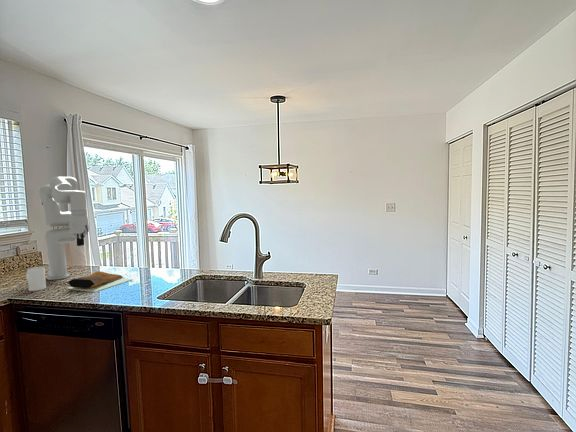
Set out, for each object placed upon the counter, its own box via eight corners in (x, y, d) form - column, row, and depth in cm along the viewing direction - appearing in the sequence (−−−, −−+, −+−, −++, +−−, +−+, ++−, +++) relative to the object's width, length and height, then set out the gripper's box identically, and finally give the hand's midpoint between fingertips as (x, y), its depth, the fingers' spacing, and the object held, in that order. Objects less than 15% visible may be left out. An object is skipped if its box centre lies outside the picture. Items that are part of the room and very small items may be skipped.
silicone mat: (66, 288, 198) (66, 287, 198) (106, 277, 223) (106, 276, 223) (94, 292, 190) (94, 291, 190) (132, 279, 215) (132, 279, 215)
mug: (20, 289, 197) (19, 269, 196) (36, 285, 205) (34, 265, 204) (35, 291, 193) (33, 270, 192) (50, 287, 201) (48, 267, 200)
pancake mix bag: (97, 277, 193) (124, 272, 221) (65, 275, 195) (96, 270, 222) (96, 289, 193) (124, 282, 221) (64, 287, 194) (95, 281, 222)
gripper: (62, 213, 191) (64, 245, 193) (82, 213, 186) (84, 247, 188) (75, 212, 198) (77, 243, 200) (94, 212, 193) (96, 245, 195)
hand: (80, 245), depth 194 cm, fingers closed
